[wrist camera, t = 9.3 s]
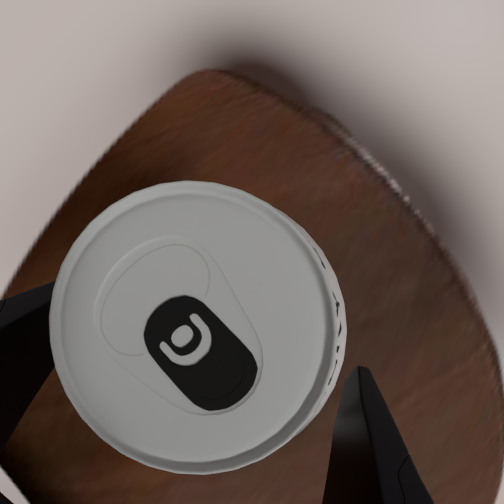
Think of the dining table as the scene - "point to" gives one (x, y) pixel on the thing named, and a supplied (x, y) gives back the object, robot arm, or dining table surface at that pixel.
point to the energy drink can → (196, 327)
